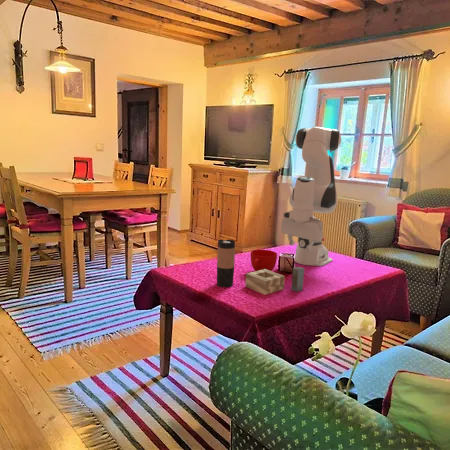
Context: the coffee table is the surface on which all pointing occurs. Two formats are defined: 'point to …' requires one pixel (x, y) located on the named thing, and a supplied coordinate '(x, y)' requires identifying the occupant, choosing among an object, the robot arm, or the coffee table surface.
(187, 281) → the coffee table surface
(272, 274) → the well block
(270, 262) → the ceramic cup
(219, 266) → the travel mug
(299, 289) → the grey rectangular block
